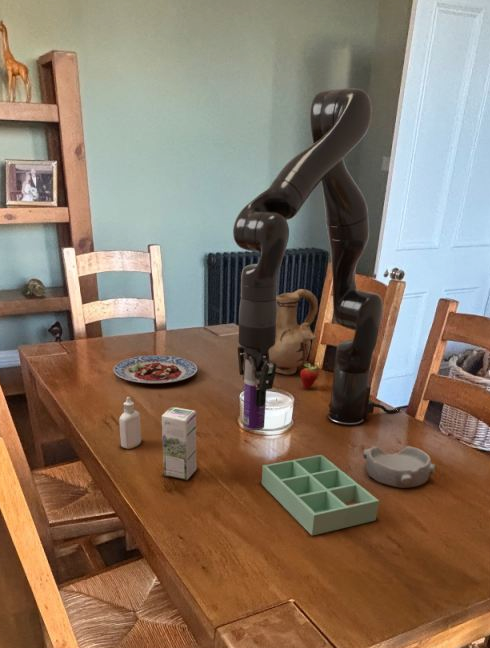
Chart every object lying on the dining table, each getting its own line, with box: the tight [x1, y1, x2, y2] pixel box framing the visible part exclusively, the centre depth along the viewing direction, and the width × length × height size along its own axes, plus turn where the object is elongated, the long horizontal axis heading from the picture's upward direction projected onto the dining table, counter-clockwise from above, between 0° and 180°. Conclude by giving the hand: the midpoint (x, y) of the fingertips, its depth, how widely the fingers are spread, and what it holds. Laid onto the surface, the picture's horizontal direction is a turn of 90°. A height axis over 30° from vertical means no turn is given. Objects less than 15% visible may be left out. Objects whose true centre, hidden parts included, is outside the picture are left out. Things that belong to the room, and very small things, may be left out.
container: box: [242, 359, 266, 431], centre depth 130 cm, size 5×5×15 cm
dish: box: [362, 445, 436, 489], centre depth 137 cm, size 14×14×5 cm
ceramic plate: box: [113, 354, 198, 385], centre depth 190 cm, size 26×26×3 cm
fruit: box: [300, 362, 319, 390], centre depth 182 cm, size 5×5×8 cm
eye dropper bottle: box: [118, 396, 143, 450], centre depth 144 cm, size 4×6×12 cm
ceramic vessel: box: [269, 288, 319, 376], centre depth 191 cm, size 18×19×25 cm
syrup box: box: [161, 406, 198, 481], centre depth 132 cm, size 6×6×14 cm
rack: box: [261, 454, 380, 536], centre depth 126 cm, size 15×22×5 cm
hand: (254, 401), depth 131 cm, fingers closed on container, 4 cm apart
